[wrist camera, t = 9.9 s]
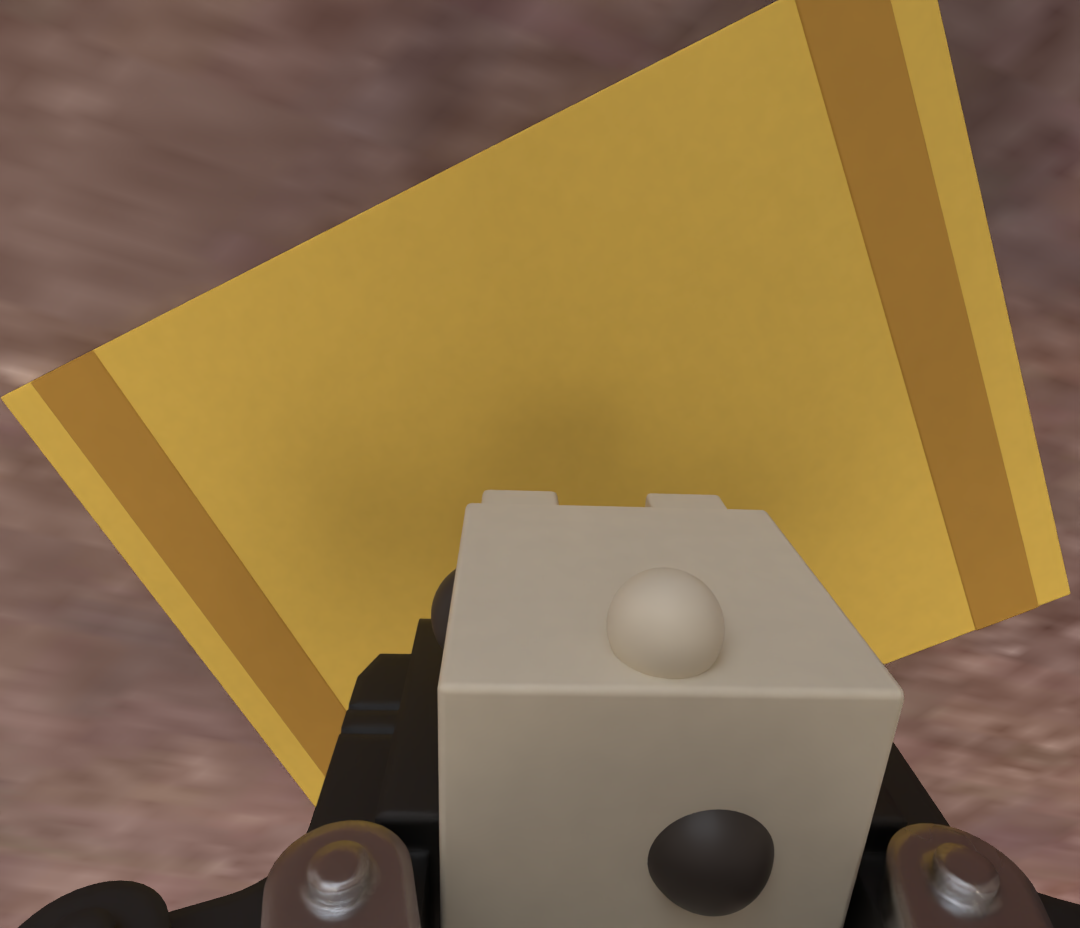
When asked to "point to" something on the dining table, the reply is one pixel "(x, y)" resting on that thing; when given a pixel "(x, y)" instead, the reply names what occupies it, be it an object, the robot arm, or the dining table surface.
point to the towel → (591, 368)
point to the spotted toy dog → (649, 721)
